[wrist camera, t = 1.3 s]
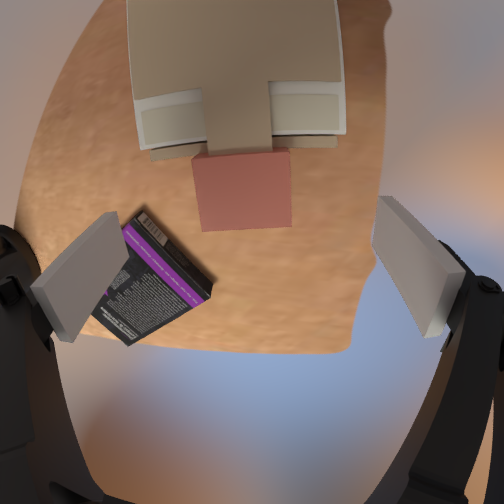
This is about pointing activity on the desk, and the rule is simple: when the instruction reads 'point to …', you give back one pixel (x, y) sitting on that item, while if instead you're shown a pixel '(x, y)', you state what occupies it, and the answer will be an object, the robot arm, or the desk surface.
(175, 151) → the carton
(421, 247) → the robot arm
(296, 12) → the flap
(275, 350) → the desk surface
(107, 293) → the box
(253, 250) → the desk surface
